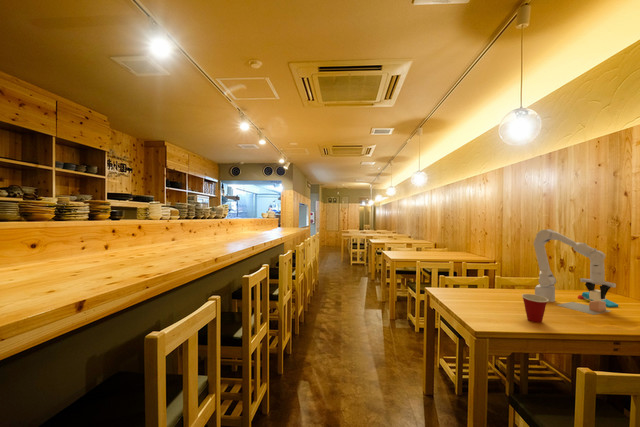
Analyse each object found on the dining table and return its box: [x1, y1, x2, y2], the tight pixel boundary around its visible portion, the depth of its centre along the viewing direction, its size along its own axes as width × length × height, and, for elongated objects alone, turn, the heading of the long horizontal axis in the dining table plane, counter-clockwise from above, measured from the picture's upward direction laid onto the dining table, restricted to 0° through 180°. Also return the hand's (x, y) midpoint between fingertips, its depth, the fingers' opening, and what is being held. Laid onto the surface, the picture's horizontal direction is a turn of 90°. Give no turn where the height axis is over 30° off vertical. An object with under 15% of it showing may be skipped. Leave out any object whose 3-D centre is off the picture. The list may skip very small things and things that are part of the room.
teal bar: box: [577, 291, 619, 308], centre depth 172 cm, size 7×7×18 cm
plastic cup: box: [521, 293, 549, 324], centre depth 143 cm, size 11×11×12 cm
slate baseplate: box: [556, 301, 611, 316], centre depth 161 cm, size 18×17×1 cm
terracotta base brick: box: [588, 300, 607, 312], centre depth 158 cm, size 4×7×4 cm, turn 112°
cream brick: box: [588, 289, 607, 301], centre depth 158 cm, size 4×7×4 cm, turn 112°
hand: (597, 297), depth 158 cm, fingers closed on cream brick, 4 cm apart
